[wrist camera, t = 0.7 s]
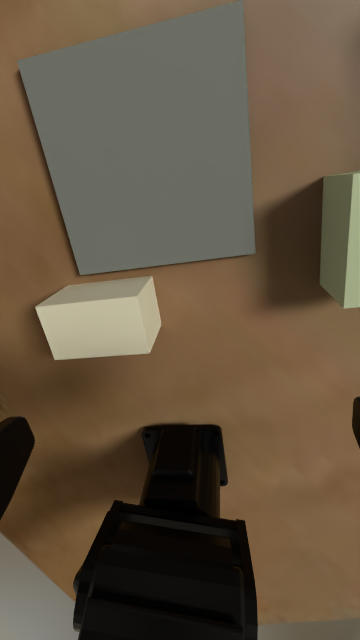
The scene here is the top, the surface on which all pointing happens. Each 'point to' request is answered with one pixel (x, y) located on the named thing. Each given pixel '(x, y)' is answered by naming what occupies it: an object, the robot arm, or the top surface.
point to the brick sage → (341, 238)
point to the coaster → (150, 141)
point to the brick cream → (101, 319)
